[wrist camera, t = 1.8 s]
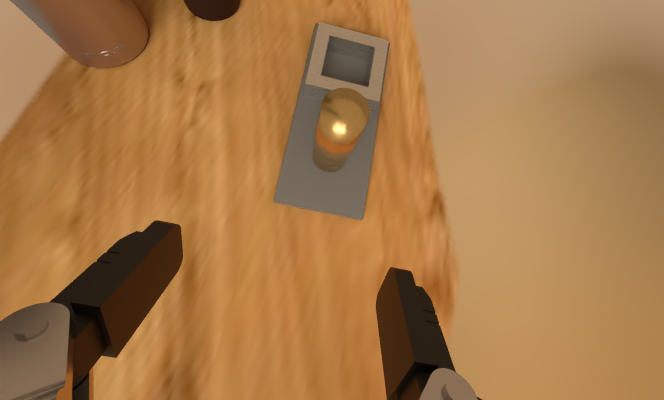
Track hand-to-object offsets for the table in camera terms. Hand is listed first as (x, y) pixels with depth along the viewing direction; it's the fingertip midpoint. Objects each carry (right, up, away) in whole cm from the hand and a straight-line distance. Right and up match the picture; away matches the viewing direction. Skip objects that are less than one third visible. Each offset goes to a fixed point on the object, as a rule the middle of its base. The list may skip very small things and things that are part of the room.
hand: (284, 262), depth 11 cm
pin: (+2, +8, +21) cm, 22 cm away
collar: (+3, +18, +24) cm, 30 cm away
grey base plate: (+2, +13, +23) cm, 27 cm away
